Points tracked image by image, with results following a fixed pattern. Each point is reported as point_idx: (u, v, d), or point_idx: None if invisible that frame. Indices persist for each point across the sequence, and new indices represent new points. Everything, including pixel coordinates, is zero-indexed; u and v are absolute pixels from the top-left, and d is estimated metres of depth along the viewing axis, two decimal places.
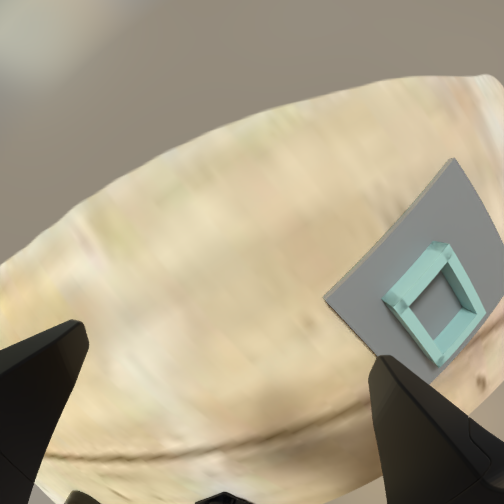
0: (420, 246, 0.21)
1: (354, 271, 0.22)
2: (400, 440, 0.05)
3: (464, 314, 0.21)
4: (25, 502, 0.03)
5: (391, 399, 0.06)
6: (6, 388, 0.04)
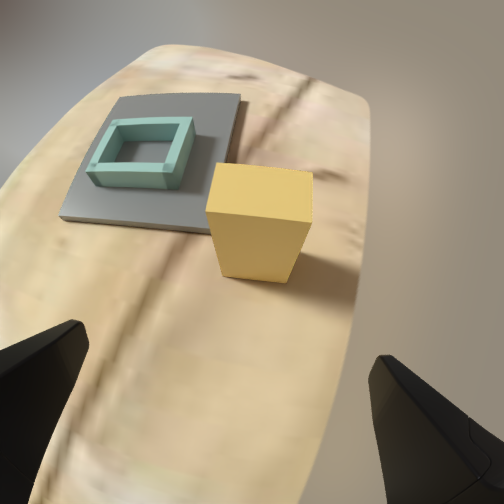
0: None
1: None
2: (400, 440, 0.05)
3: None
4: (25, 502, 0.03)
5: (391, 399, 0.06)
6: (6, 388, 0.04)
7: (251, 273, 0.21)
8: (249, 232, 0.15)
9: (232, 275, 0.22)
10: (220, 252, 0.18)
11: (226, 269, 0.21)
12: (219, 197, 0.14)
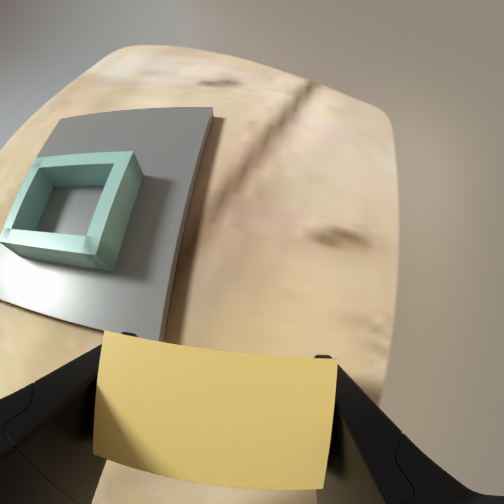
0: None
1: None
2: None
3: None
4: None
5: None
6: (63, 418, 0.04)
7: None
8: None
9: None
10: None
11: None
12: (116, 431, 0.05)
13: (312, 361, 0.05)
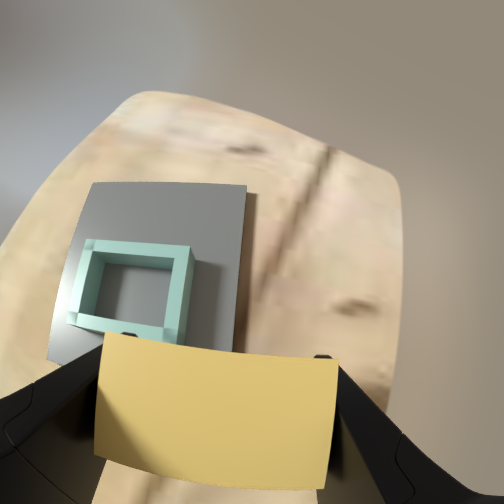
0: None
1: (52, 323, 0.20)
2: None
3: None
4: None
5: None
6: (63, 418, 0.04)
7: None
8: None
9: None
10: None
11: None
12: (117, 431, 0.05)
13: (313, 361, 0.05)
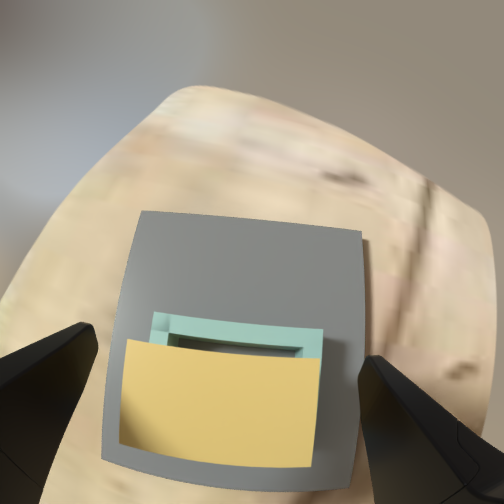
0: None
1: (103, 415, 0.14)
2: (387, 442, 0.05)
3: None
4: None
5: (379, 400, 0.06)
6: (15, 393, 0.04)
7: None
8: None
9: None
10: None
11: None
12: (139, 422, 0.06)
13: (299, 360, 0.07)
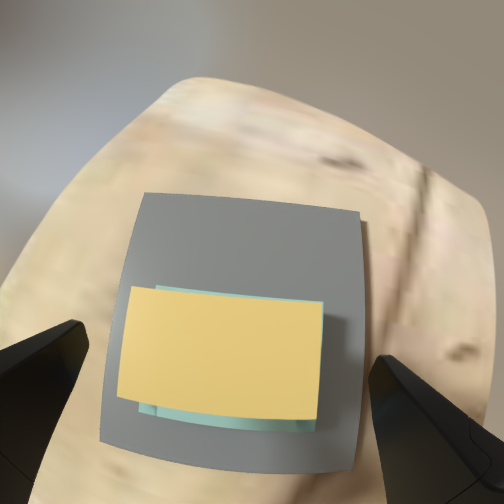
0: None
1: (102, 395, 0.14)
2: (400, 440, 0.05)
3: None
4: (25, 502, 0.03)
5: (391, 399, 0.06)
6: (6, 388, 0.04)
7: None
8: None
9: None
10: None
11: None
12: (139, 371, 0.06)
13: (301, 304, 0.07)
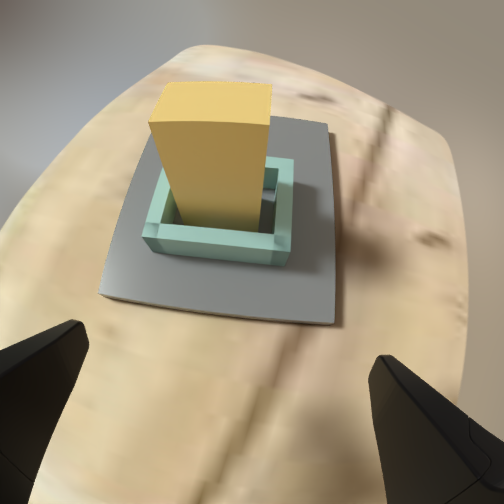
0: None
1: (109, 249, 0.19)
2: (400, 440, 0.05)
3: (276, 188, 0.20)
4: (25, 502, 0.03)
5: (391, 399, 0.06)
6: (6, 388, 0.04)
7: (215, 221, 0.18)
8: (200, 150, 0.12)
9: (196, 226, 0.19)
10: (175, 188, 0.15)
11: (187, 217, 0.18)
12: (166, 109, 0.11)
13: (260, 84, 0.12)
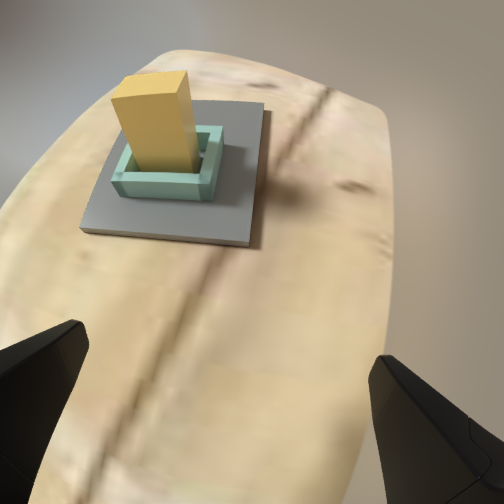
0: None
1: (90, 197, 0.25)
2: (400, 440, 0.05)
3: None
4: (25, 502, 0.03)
5: (391, 399, 0.06)
6: (6, 388, 0.04)
7: (163, 170, 0.24)
8: (142, 114, 0.18)
9: None
10: (132, 144, 0.21)
11: (143, 169, 0.24)
12: (121, 91, 0.16)
13: (179, 71, 0.17)
